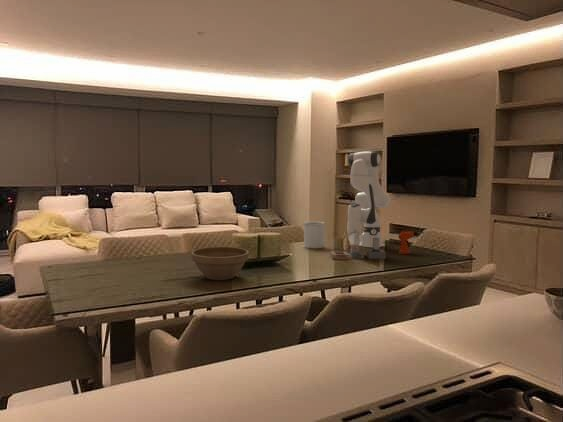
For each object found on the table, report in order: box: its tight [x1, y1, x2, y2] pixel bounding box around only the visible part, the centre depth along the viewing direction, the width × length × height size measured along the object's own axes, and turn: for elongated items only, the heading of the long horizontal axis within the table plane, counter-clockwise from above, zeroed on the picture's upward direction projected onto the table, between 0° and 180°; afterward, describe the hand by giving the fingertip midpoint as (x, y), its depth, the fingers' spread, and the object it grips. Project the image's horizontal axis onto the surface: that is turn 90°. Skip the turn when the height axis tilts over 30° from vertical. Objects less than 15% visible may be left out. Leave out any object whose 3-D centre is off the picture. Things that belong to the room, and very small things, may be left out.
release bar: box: [350, 245, 361, 257], centre depth 291 cm, size 4×5×6 cm
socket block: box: [365, 249, 387, 260], centre depth 286 cm, size 10×10×4 cm
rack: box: [330, 251, 350, 260], centre depth 284 cm, size 10×10×3 cm
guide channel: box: [347, 252, 365, 260], centre depth 289 cm, size 14×8×1 cm, turn 1°
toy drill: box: [398, 230, 425, 255], centre depth 302 cm, size 5×19×15 cm, turn 103°
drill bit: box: [372, 235, 380, 252], centre depth 286 cm, size 4×4×14 cm
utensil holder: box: [303, 221, 325, 249], centre depth 325 cm, size 15×15×18 cm
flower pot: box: [190, 246, 250, 281], centre depth 230 cm, size 28×28×13 cm
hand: (353, 250), depth 295 cm, fingers closed
